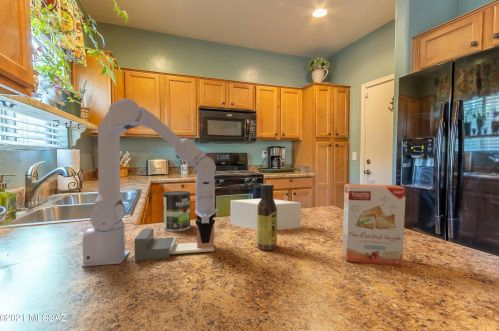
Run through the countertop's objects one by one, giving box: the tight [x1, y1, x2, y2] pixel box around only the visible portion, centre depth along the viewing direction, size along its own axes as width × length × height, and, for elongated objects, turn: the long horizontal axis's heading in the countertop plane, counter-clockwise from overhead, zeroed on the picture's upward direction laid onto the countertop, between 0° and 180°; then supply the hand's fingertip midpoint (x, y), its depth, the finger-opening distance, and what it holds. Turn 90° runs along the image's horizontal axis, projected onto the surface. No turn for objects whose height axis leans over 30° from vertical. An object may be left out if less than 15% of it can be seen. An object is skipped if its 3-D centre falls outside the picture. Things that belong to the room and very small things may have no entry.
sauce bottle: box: [256, 183, 278, 251], centre depth 73 cm, size 6×6×20 cm
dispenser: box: [133, 227, 177, 262], centre depth 69 cm, size 10×9×6 cm
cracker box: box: [342, 183, 407, 267], centre depth 64 cm, size 14×6×21 cm, turn 79°
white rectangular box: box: [229, 198, 302, 231], centre depth 96 cm, size 14×29×10 cm, turn 81°
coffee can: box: [162, 190, 191, 233], centre depth 93 cm, size 10×10×14 cm
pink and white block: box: [170, 224, 215, 255], centre depth 71 cm, size 16×6×7 cm, turn 101°
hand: (205, 239), depth 72 cm, fingers open, 4 cm apart
